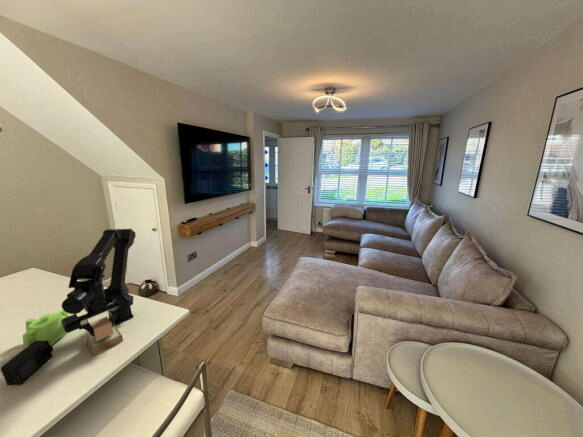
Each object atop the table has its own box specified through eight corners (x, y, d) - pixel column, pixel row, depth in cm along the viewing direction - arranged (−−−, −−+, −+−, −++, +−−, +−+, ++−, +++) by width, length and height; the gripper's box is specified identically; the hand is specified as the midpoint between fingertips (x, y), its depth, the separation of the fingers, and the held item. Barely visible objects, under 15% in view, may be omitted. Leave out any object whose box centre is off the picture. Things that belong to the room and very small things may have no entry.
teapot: (26, 357, 81) (18, 333, 79) (28, 338, 89) (21, 316, 86) (73, 339, 89) (67, 317, 87) (71, 323, 97) (65, 303, 94)
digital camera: (25, 385, 72) (18, 367, 70) (6, 385, 72) (-1, 367, 70) (56, 357, 82) (52, 340, 80) (40, 356, 82) (35, 340, 80)
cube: (113, 333, 88) (111, 322, 87) (96, 341, 84) (94, 329, 83) (108, 327, 91) (106, 316, 90) (92, 334, 87) (89, 323, 86)
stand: (114, 329, 95) (113, 324, 94) (123, 340, 90) (122, 334, 89) (86, 343, 88) (84, 337, 87) (93, 355, 83) (91, 349, 82)
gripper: (117, 276, 95) (123, 310, 99) (52, 298, 81) (63, 335, 85) (128, 287, 89) (134, 322, 93) (60, 312, 74) (71, 352, 79)
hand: (102, 331), depth 88 cm, fingers closed on cube, 5 cm apart
